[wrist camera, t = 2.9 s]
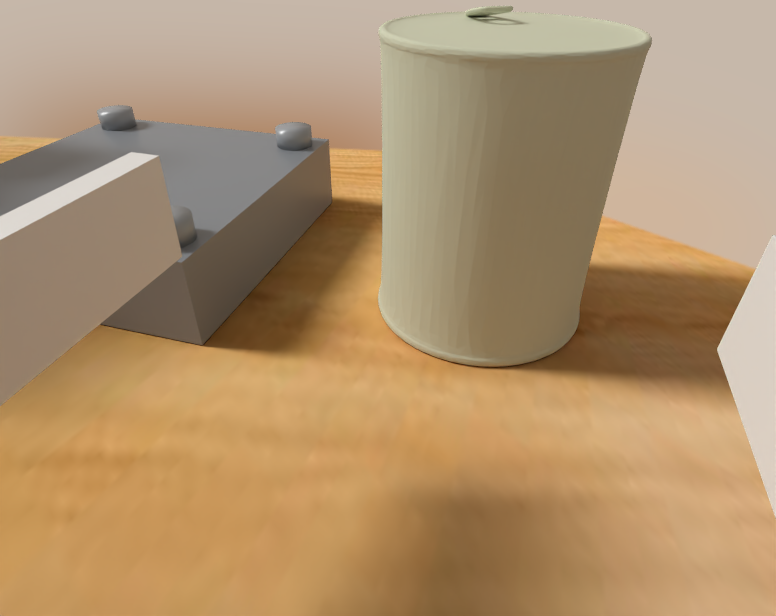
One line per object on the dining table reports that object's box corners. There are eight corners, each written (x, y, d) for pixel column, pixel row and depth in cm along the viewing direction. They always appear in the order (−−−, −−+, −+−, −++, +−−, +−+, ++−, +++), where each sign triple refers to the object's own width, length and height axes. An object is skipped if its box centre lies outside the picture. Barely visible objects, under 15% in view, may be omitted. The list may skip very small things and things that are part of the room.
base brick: (332, 202, 34) (327, 122, 31) (202, 345, 22) (175, 238, 19) (131, 175, 37) (110, 101, 34) (-73, 288, 26) (-131, 190, 23)
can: (528, 246, 29) (573, -4, 22) (618, 353, 22) (727, 29, 15) (363, 262, 28) (357, -1, 21) (401, 382, 21) (411, 37, 14)
